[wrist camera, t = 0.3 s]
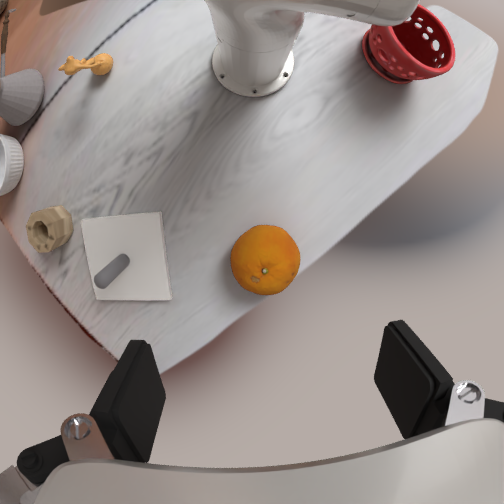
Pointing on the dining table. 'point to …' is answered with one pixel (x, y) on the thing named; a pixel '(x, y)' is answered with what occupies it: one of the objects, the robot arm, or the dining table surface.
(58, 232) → the bead
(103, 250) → the post board
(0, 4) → the decorative egg
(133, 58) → the dining table surface
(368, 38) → the plant pot
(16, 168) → the ramekin
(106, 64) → the figurine
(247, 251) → the fruit
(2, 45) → the coffee pot
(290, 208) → the dining table surface
